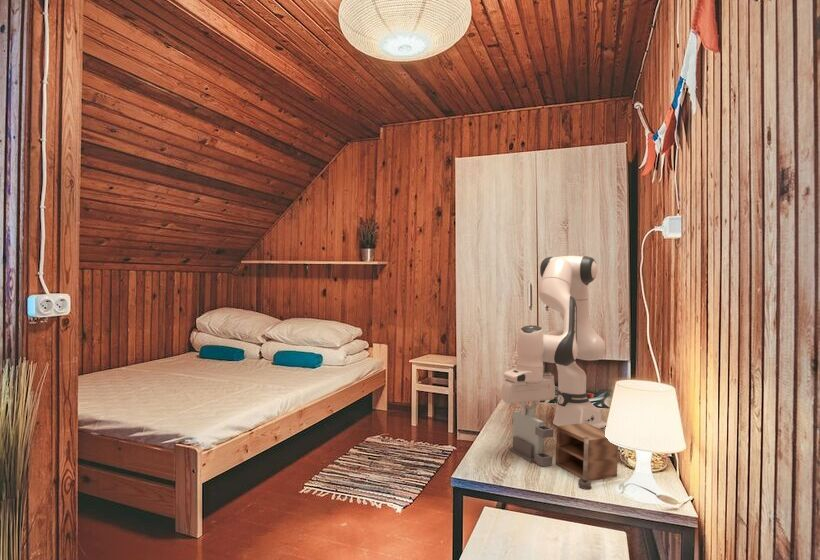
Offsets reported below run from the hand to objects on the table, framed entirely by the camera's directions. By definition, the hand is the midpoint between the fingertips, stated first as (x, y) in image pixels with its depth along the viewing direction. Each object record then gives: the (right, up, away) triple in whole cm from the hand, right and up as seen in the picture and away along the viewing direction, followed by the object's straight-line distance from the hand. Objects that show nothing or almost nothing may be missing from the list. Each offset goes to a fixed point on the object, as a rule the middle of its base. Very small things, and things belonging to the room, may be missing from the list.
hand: (528, 414), depth 167 cm
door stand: (-1, -15, 0) cm, 15 cm away
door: (0, -14, -1) cm, 14 cm away
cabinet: (+14, -15, -14) cm, 25 cm away
